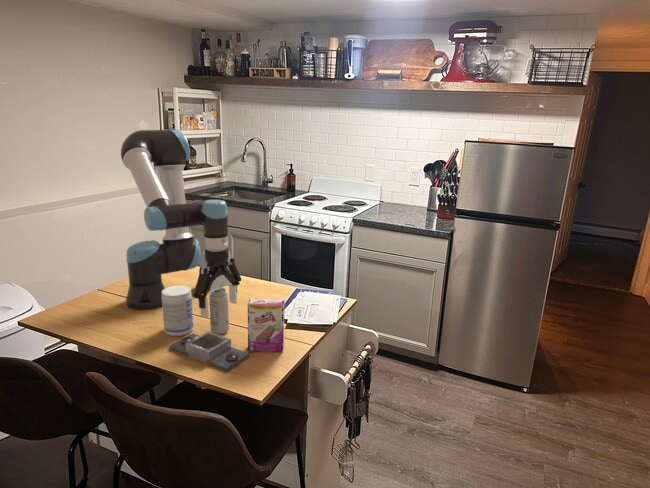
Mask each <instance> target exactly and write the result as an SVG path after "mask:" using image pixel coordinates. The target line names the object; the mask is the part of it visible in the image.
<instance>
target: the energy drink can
mask: <svg viewBox="0 0 650 488" xmlns="http://www.w3.org/2000/svg"><path fill="white" fill-rule="evenodd" d="M208 302H209V319H210V320H209V321H210V332H211V333H214V334H217V335H220V336H223V335H225V334H227V333H228V331H229V329H230V318H229V316H230V315H229V293H227V291H226V289H225V288H223V287H219V288H215V289H212V290H210V294H209V296H208Z"/></svg>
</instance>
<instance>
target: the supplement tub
mask: <svg viewBox="0 0 650 488" xmlns="http://www.w3.org/2000/svg"><path fill="white" fill-rule="evenodd" d="M161 307H162V316H163V317H162V318H163V329H164V333H165V334H167V335H168V336H171V337H181V336H185V335H188V334H191V332H193V330H194V327H195V326H194V315H193V312H194V311H193V295H192V289H191V288H190V287H189V286H187V285H172V286H171V285H170V286H168V287H165V289H164V290H162V306H161Z"/></svg>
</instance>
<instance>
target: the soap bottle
mask: <svg viewBox="0 0 650 488" xmlns="http://www.w3.org/2000/svg"><path fill="white" fill-rule="evenodd" d="M229 258H232V257H231V252H230V251H229ZM200 267H203V268H204V267H207V261H206V260H205V250H204V251H203V252H201V255H200V261H199V268H200ZM227 269H228V270H229V268H228V266H227ZM229 271H230V270H229ZM230 273H231V272H230ZM210 276H211V275H210ZM229 284H231V283H230V282H229V281H228V280H227V278H226V277H225V276H224V275H222V276H219V277H216V279H215V280H214V281H213V283H212V285H211V287H210V289H209V291H211V290H212V289H215V288H223V287H225V286H229Z"/></svg>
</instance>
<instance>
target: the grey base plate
mask: <svg viewBox="0 0 650 488" xmlns="http://www.w3.org/2000/svg"><path fill="white" fill-rule="evenodd" d="M207 346H212V347H211V348H209V349H207V348H205V347H207ZM168 349H169V350H171V351H173V352H176V353H178V354H180V355H183V356H186V357H189V358H192V359H195V360H197V361H200V362H201V363H205V364H207V365H208V366H211V367H214V368H217V369H220V370H222V371H225V372H229V371H231V370H232V369H234V368H235V367H237V366H238V365H240V364H241V363H243V362H245V360H247V359H249V358H250V352H246V351H243V350H241V349H238V348H235V347H232V339H231V338H228V337H225V336H223V335H217V334H214V333H213V332H212V331H209V330H208V331H205V332H204V333H202V334H201V335H199V334H197V333H193V332H192V333H189V335H188V334H187V336H184V337H182V338H181V339H178V340H177V341H175V342H173V343H171V344H170V345H168Z"/></svg>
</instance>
